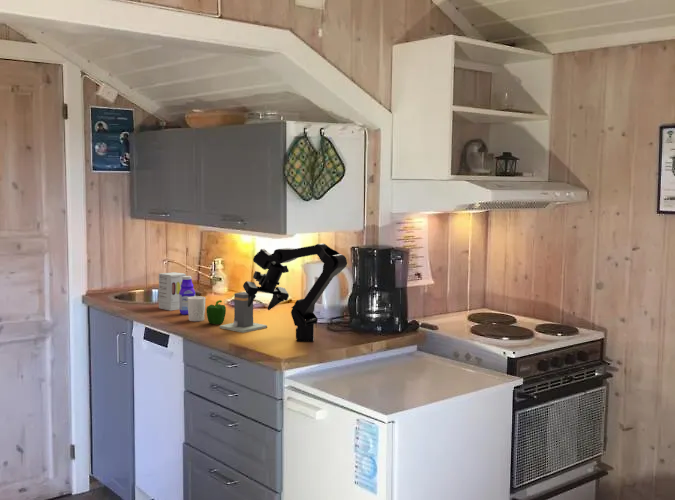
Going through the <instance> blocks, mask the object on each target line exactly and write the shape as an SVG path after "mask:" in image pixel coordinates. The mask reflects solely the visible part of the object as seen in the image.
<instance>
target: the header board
mask: <svg viewBox="0 0 675 500" xmlns="http://www.w3.org/2000/svg"><path fill="white" fill-rule="evenodd" d="M266 327H267V328H268V325H267V324H263V323H258V322H253V325H252V326H247V327H240V326H238V321H234V320H233V322H232V323H226V324H219V329H223V330H228V331H232V332H236V333H237V332H238V333H243V334H244V333H249V332H253V331H258V329H259V330H262V328H263V329H267V328H266Z"/></svg>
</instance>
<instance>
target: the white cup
mask: <svg viewBox="0 0 675 500" xmlns="http://www.w3.org/2000/svg"><path fill="white" fill-rule="evenodd" d="M187 302H188V314H187V315H188V321H190V322H203V321H205V313H206V297H205V296H201V295H200V296H199V295H195V296H192V297H188V298H187Z"/></svg>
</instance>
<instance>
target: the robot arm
mask: <svg viewBox="0 0 675 500" xmlns="http://www.w3.org/2000/svg"><path fill="white" fill-rule="evenodd" d="M314 255H315V256H318V257H319V259H320V261H321V262H322V263H323V264H322V272H321V273H320V275H319V277H318V278H317V279H316V281H315V282H314V283H313V285H312V287H311V288H310V289H309V291H308V293H307V294H306V296H305V297H304V298H301V299H296V301H295V302H294V304H293V306H291V311H290V314H291V317H292V321H293V324H294V326H296V328H295V340H296V342H304V343H305V342H308V343H309V342H311V343H313V342H314V340H315V336H314V335H315V334H314V333H315V328H314V327H315V325H316V324H317V323H318V317H317V316H316V315H315V313H314V312H315V309H316V307H315V305H316V303H317V301H318V300H319V299H320V298H321V296H322V294H323V293H324V291H325V290H326V289H327V287H328V286H329V284H330V283H331V281H332V280H333V279H334V278H335V277H336V276H337V275H339V274H340V273H341V272H342V271H343V270H344V269H345V268H347V265H348V260H347V257H346V255H343V254H341V253H340V252H338V251H337V250H335V249H333V248H331V247H329V246H328V245H327V244H326V243H316V244H313V245H309V246H302V247H299V248H293V247H291V248H290V247H285V248H277V249H275V250H273V253H269V252H268V251H267V250H266V249H265V248H261V249H260V250H259V251H258V252H256V254H255V255H253V256H254V257H253V258H252V261H253V263H255V264H256V265H257V266H259V268H261V269H262V270H264V271H267V272H266V273H261V272H260V271H256V270H255V271H254V273H253V276H252V279H254V280H255V282H258V285H259V286H258V285H256V283H255V282H253V281H245V282H243V284H242V288H243V289H244V292H246V293H247V294H248V307H250V305H251V304H252V302H253V303H254V300H255V299H256V297H257V296H256V295H257V294H258V293H264V294H271V295H272V297H271V300H270V302H269V303H268V306H267V310H268V311H271V309H273V308H274V307H276V306H277V305H279V304H280V303H282V302H284V301H286V302H287V301H288V300H289V295H290V294H289V293H288V291H287V290H286V288H285V287H282V286H280V279H281V276H282V274H285V273H289V271H290V270H289V268H288V266H287V265H283V264H287V263H290V262H292V261H295V260H297V259H298V258H304V257H309V256H314ZM314 324H315V325H314Z"/></svg>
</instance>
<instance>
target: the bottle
mask: <svg viewBox="0 0 675 500" xmlns="http://www.w3.org/2000/svg"><path fill="white" fill-rule="evenodd" d="M192 280H193V279H192V276H191V275H186V276H183V277H182V284H181V290H180V292H179V309H178V310H179V313H180V314H181V315H189V314H188V302H187V298H188V297H192V296H196V291H195V288H194V283H193V281H192Z"/></svg>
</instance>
